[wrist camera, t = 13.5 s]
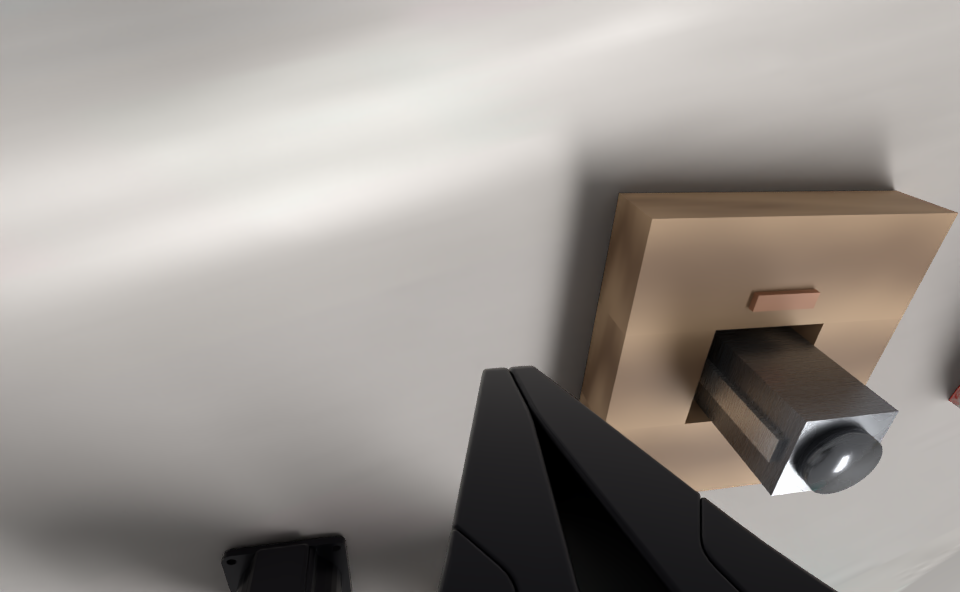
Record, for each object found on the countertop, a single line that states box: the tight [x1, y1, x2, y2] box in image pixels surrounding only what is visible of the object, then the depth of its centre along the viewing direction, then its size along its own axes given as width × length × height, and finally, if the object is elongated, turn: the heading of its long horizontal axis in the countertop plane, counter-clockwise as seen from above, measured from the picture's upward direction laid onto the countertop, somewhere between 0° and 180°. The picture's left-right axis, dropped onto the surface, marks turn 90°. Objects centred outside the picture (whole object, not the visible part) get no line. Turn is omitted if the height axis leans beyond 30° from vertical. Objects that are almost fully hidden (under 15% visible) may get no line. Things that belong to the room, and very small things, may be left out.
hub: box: [580, 191, 958, 492], centre depth 25 cm, size 16×14×3 cm
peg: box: [693, 326, 899, 496], centre depth 23 cm, size 4×4×9 cm
